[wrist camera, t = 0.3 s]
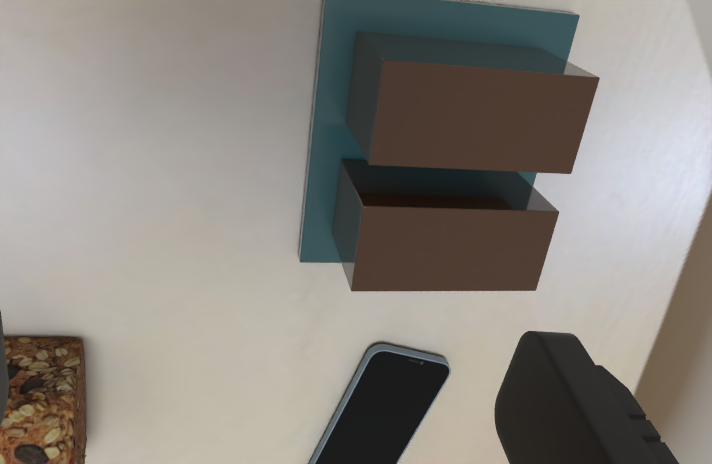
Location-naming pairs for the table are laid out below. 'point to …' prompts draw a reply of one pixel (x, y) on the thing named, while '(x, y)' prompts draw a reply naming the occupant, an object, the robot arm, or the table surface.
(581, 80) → the twin blocks on tray
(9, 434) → the bread
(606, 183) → the table surface
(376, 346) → the smartphone
